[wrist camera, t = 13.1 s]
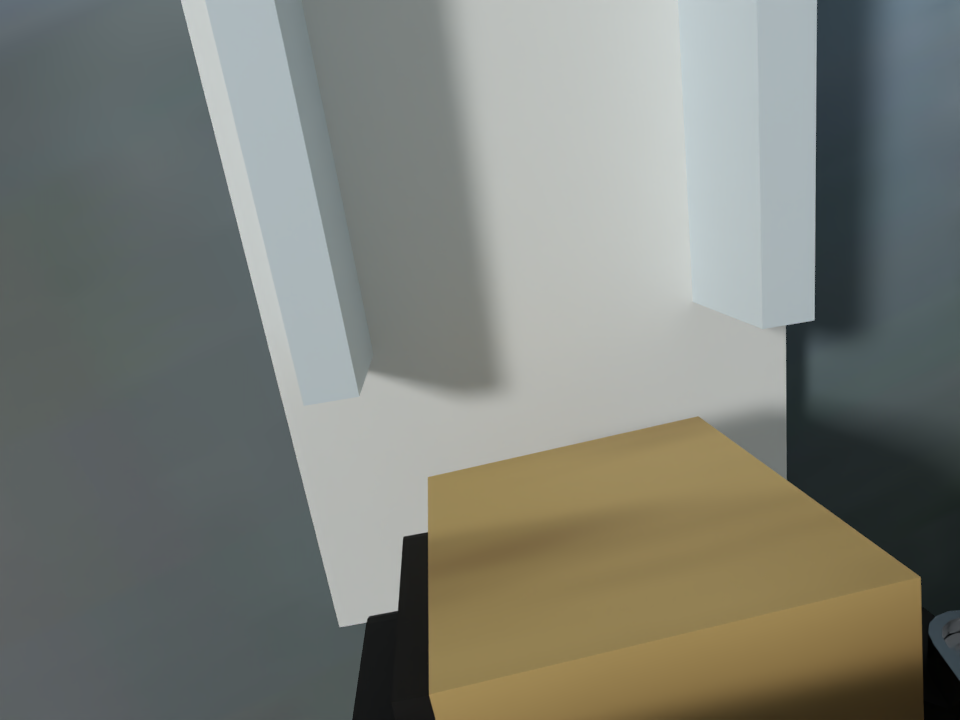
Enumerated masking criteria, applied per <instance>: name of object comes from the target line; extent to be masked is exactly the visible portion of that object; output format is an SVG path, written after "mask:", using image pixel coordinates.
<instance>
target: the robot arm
mask: <svg viewBox="0 0 960 720" xmlns="http://www.w3.org/2000/svg"><path fill="white" fill-rule="evenodd" d="M921 613H922V659H923V705H924V720H960V610H957V611H948V612H945V613H943V614H940V615H937V616H936V617H935V616H934V615H932V614H931V613H930V612H929V611H927V610H926V609H925V608H923V607H922V606H921ZM352 720H436V719H435V715H434V712H433V708H432V704H431V700H430V697H429V616H428V532H426V533H420V534H415V535H409V536H404V537H403V545H402V559H401V574H400V588H399V602H398V611H394V612H389V613H383V614H378V615H373V616H369V617H368V619H367V623H366V630H365V637H364V643H363V650H362V657H361V664H360V671H359V678H358V685H357V692H356V698H355V705H354V712H353V719H352Z"/></svg>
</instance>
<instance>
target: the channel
mask: <svg viewBox="0 0 960 720" xmlns="http://www.w3.org/2000/svg"><path fill="white" fill-rule="evenodd" d="M181 2H182V6H183V10H184V14H185V18H186V22H187V26H188V30H189V34H190V38H191V42H192V46H193V50H194V54H195V58H196V62H197V66H198V70H199V74H200V78H201V82H202V85H203V89H204V93H205V97H206V101H207V105H208V109H209V113H210V117H211V121H212V125H213V129H214V133H215V137H216V141H217V145H218V149H219V153H220V157H221V161H222V165H223V169H224V172H225V176H226V180H227V184H228V188H229V192H230V196H231V200H232V204H233V208H234V212H235V216H236V220H237V224H238V228H239V232H240V236H241V240H242V244H243V248H244V252H245V255H246V259H247V263H248V267H249V271H250V275H251V279H252V283H253V287H254V291H255V295H256V299H257V303H258V307H259V311H260V315H261V319H262V323H263V327H264V331H265V335H266V338H267V342H268V346H269V350H270V354H271V358H272V362H273V366H274V370H275V374H276V378H277V382H278V386H279V390H280V394H281V398H282V402H283V406H284V410H285V414H286V418H287V421H288V425H289V429H290V433H291V437H292V441H293V445H294V449H295V453H296V457H297V461H298V465H299V469H300V473H301V477H302V481H303V485H304V489H305V493H306V497H307V501H308V504H309V508H310V512H311V516H312V520H313V524H314V528H315V532H316V536H317V540H318V544H319V548H320V552H321V556H322V560H323V564H324V568H325V572H326V576H327V580H328V584H329V587H330V591H331V595H332V599H333V603H334V607H335V611H336V615H337V619H338V623H339V627H344V626H349V625H355V624H360V623H366V622H367V619H368V617H369V616H373V615H378V614H383V613H389V612H394V611H398V602H399V588H400V574H401V559H402V545H403V537H404V536H409V535H415V534H420V533H426V532H428V477H431V476H435V475H439V474H444V473H448V472H453V471H457V470H462V469H466V468H471V467H475V466H479V465H484V464H488V463H493V462H497V461H502V460H506V459H511V458H515V457H519V456H524V455H528V454H533V453H537V452H542V451H546V450H551V449H555V448H559V447H564V446H568V445H573V444H577V443H582V442H586V441H591V440H595V439H599V438H604V437H608V436H613V435H617V434H622V433H626V432H631V431H635V430H640V429H644V428H648V427H653V426H657V425H662V424H666V423H671V422H675V421H680V420H684V419H688V418H693V417H697V416H699V417H700V418H702V419H703V420H704V421H706V422H707V423H708V424H710V425H711V426H713V427H714V428H715V429H717V430H718V431H719V432H721V433H722V434H724V435H725V436H726V437H728V438H729V439H731V440H732V441H733V442H735V443H736V444H737V445H739V446H740V447H742V448H743V449H744V450H746V451H747V452H749V453H750V454H751V455H753V456H754V457H755V458H757V459H758V460H760V461H761V462H762V463H764V464H765V465H766V466H768V467H769V468H771V469H772V470H773V471H775V472H776V473H778V474H779V475H780V476H782V477H783V478H784V479H786V480H787V443H786V325H790V324H796V323H802V322H808V321H814V320H815V193H816V61H817V0H181Z"/></svg>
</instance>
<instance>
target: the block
mask: <svg viewBox="0 0 960 720" xmlns="http://www.w3.org/2000/svg"><path fill="white" fill-rule="evenodd" d="M428 616H429V697H430V700H431V704H432V708H433V712H434V715H435V719H436V720H924V705H923V659H922V613H921V577H920V576H919V575H917V574H916V573H914V572H913V571H912V570H910V569H909V568H907V567H906V566H905V565H903V564H902V563H901V562H899V561H898V560H896V559H895V558H894V557H892V556H891V555H889V554H888V553H887V552H885V551H884V550H883V549H881V548H880V547H878V546H877V545H876V544H874V543H873V542H872V541H870V540H869V539H867V538H866V537H865V536H863V535H862V534H860V533H859V532H858V531H856V530H855V529H854V528H852V527H851V526H849V525H848V524H847V523H845V522H844V521H842V520H841V519H840V518H838V517H837V516H836V515H834V514H833V513H831V512H830V511H829V510H827V509H826V508H825V507H823V506H822V505H820V504H819V503H818V502H816V501H815V500H813V499H812V498H811V497H809V496H808V495H807V494H805V493H804V492H802V491H801V490H800V489H798V488H797V487H796V486H794V485H793V484H791V483H790V482H789V481H787V480H786V479H784V478H783V477H782V476H780V475H779V474H778V473H776V472H775V471H773V470H772V469H771V468H769V467H768V466H766V465H765V464H764V463H762V462H761V461H760V460H758V459H757V458H755V457H754V456H753V455H751V454H750V453H749V452H747V451H746V450H744V449H743V448H742V447H740V446H739V445H737V444H736V443H735V442H733V441H732V440H731V439H729V438H728V437H726V436H725V435H724V434H722V433H721V432H719V431H718V430H717V429H715V428H714V427H713V426H711V425H710V424H708V423H707V422H706V421H704V420H703V419H702V418H700V417H699V416H697V417H693V418H688V419H684V420H680V421H675V422H671V423H666V424H662V425H657V426H653V427H648V428H644V429H640V430H635V431H631V432H626V433H622V434H617V435H613V436H608V437H604V438H599V439H595V440H591V441H586V442H582V443H577V444H573V445H568V446H564V447H559V448H555V449H551V450H546V451H542V452H537V453H533V454H528V455H524V456H519V457H515V458H511V459H506V460H502V461H497V462H493V463H488V464H484V465H479V466H475V467H471V468H466V469H462V470H457V471H453V472H448V473H444V474H439V475H435V476H431V477H428Z"/></svg>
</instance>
